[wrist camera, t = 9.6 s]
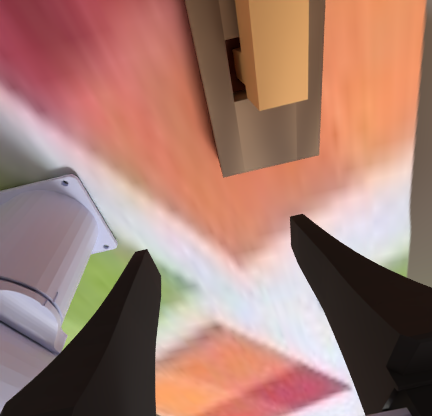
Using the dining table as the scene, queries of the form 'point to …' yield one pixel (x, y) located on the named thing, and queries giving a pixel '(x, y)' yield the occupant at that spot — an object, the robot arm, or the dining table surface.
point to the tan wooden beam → (273, 51)
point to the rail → (242, 107)
